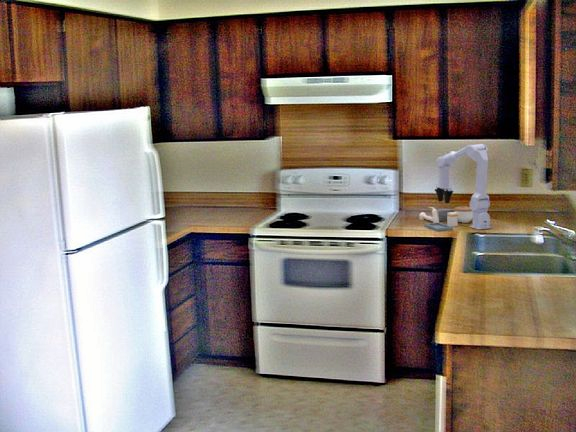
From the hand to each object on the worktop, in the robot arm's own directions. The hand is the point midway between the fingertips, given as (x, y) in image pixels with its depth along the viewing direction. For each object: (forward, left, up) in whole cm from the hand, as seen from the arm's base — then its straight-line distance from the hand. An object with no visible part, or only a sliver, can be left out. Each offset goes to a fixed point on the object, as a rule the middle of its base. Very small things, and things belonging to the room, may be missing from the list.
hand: (443, 202), depth 419 cm
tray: (-18, +13, -10) cm, 25 cm away
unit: (+1, 0, -10) cm, 10 cm away
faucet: (+2, +8, -11) cm, 14 cm away
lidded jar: (-8, -8, -11) cm, 16 cm away
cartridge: (-15, +3, -10) cm, 19 cm away
